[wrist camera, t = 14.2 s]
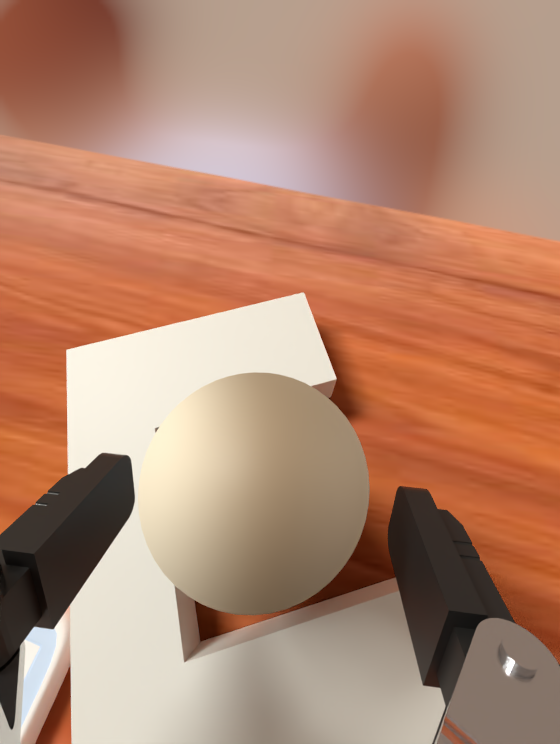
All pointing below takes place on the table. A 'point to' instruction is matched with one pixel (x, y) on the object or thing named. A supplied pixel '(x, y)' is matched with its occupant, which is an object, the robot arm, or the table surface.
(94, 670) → the notched board
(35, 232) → the table surface
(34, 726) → the calculator
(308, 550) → the disc
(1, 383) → the table surface
